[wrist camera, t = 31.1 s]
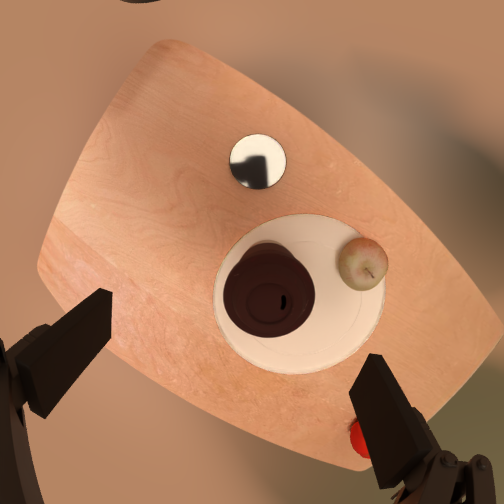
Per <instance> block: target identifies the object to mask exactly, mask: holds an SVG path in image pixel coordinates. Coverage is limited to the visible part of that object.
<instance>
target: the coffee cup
mask: <svg viewBox="0 0 504 504" xmlns="http://www.w3.org/2000/svg"><path fill="white" fill-rule="evenodd" d="M314 302H315V288H314V283H313V280H312V278H311V276H310V274H309V272H308V270H307V269H306V268H305V266H304V265H303V264H302V263H301V262H300V261H298V260H297V259H296V258H295V257H294V256H293V254H292V253H291V252H290V251H289V250H288V249H287V248H286V247H285V246H283V245H282V244H281V243H279V242H277V241H273V240H262V241H259V242H256V243H254V244H253V245H252V246H250V247H249V248H248V250H247V251H246V252H245V253H244V254H243V256H242V257H241V259H240V261H239V262H238V263H237V264H236V265H235V266H234V267H233V268H232V269H231V271H230V273H229V274H228V277H227V279H226V282H225V285H224V289H223V303H224V307H225V310H226V312H227V314H228V316H229V318H230V319H231V321H232V322H233V323H234V324H235V325H236V326H237V327H238V328H239V329H241V330H243V331H244V332H246V333H248V334H250V335H253V336H256V337H261V338H275V337H281V336H284V335H287V334H289V333H291V332H293V331H295V330H296V329H298V328H299V327H300V326H301V325H302V324H303V323H304V322H305V321H306V320H307V319H308V317H309V316H310V314H311V312H312V309H313V306H314Z"/></svg>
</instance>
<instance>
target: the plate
mask: <svg viewBox="0 0 504 504" xmlns="http://www.w3.org/2000/svg"><path fill="white" fill-rule="evenodd" d="M356 238H365V237H363V236H362V235H361V234H360V233H359V232H358V231H356V230H355V229H354V228H352V227H351V226H349V225H347V224H345V223H343V222H341V221H339V220H337V219H334V218H331V217H327V216H323V215H316V214H293V215H287V216H282V217H279V218H275V219H273V220H270V221H267V222H265V223H263V224H261V225H259V226H257V227H256V228H254V229H253V230H251V231H250V232H248V233H247V234H246V235H244V236H243V237H242V238H241V239H240V240H239V241H238V242H237V243H236V244H235V245H234V246H233V247H232V248H231V250H230V251H229V252H228V253H227V255H226V257H225V258H224V260H223V262H222V263H221V265H220V268H219V270H218V272H217V275H216V279H215V283H214V288H213V310H214V315H215V319H216V322H217V325H218V328H219V330H220V332H221V334H222V335H223V337H224V339H225V340H226V342H227V343H228V344H229V345H230V347H231V348H232V349H233V350H234V351H235V352H236V353H237V354H238V355H240V356H241V357H242V358H243V359H245V360H246V361H248V362H250V363H251V364H253V365H255V366H257V367H259V368H262V369H265V370H268V371H271V372H276V373H281V374H307V373H313V372H317V371H321V370H324V369H327V368H330V367H332V366H334V365H336V364H338V363H340V362H342V361H344V360H345V359H347V358H348V357H350V356H351V355H352V354H354V353H355V352H356V351H357V350H358V349H359V348H360V347H361V346H362V345H363V344H364V343H365V342H366V341H367V339H368V338H369V337H370V335H371V334H372V332H373V331H374V329H375V327H376V326H377V324H378V322H379V319H380V317H381V314H382V311H383V307H384V302H385V295H386V283H385V276H384V277H383V279H382V280H381V281H380V283H379V284H378V285H377V286H375V287H374V288H372V289H370V290H367V291H356V290H353V289H351V288H350V287H348V286H347V285H346V284H345V283H344V282H343V280H342V278H341V276H340V273H339V268H338V261H339V256H340V254H341V252H342V250H343V248H344V247H345V245H346V244H347V243H348V242H350V241H351V240H353V239H356ZM262 240H273V241H277V242H279V243H281V244H282V245H283V246H285V247H286V248H287V249H288V250H289V251H290V252H291V253H292V254H293V256H294V257H295V258H296V259H297V260H298V261H300V262H301V263H302V264H303V265H304V266H305V268H306V269H307V270H308V272H309V274H310V276H311V278H312V280H313V283H314V288H315V302H314V306H313V309H312V312H311V314H310V316H309V317H308V319H307V320H306V321H305V322H304V323H303V324H302V325H301V326H300V327H299V328H298V329H296V330H295V331H293V332H291V333H289V334H287V335H284V336H281V337H275V338H261V337H256V336H253V335H250V334H248V333H246V332H244V331H243V330H241V329H239V328H238V327H237V326H236V325H235V324H234V323H233V322H232V321H231V319H230V318H229V316H228V314H227V312H226V310H225V307H224V303H223V289H224V285H225V282H226V279H227V277H228V274H229V273H230V271H231V269H232V268H233V267H234V266H235V265H236V264H237V263H238V262H239V261H240V259H241V257H242V256H243V254H244V253H245V252H246V251H247V250H248V248H249V247H250V246H252V245H253V244H254V243H256V242H259V241H262Z"/></svg>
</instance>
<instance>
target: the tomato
mask: <svg viewBox="0 0 504 504" xmlns="http://www.w3.org/2000/svg"><path fill="white" fill-rule="evenodd" d="M350 440H351V444H352V446H353V449H354V450H355V451H356V452H357V453H358V454H360V455H361V456H362V457H364V458H368V459H370V456H369V452H368V449H367V446H366V443H365V440H364V437H363V434H362V431H361V428H360V425H359V422H356V423H354V425H353V426H352V428H351V433H350Z"/></svg>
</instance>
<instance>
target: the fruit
mask: <svg viewBox="0 0 504 504" xmlns="http://www.w3.org/2000/svg"><path fill="white" fill-rule="evenodd" d="M338 268H339V273H340V276H341V278H342V280H343V282H344V283H345V284H346V285H347V286H348V287H350V288H351V289H353V290H356V291H367V290H370V289H372V288H374V287H375V286H377V285H378V284H379V283H380V281H381V280H382V279H383V277H384V276H385V274H386V272H387V270H388V257H387V255H386V253H385V251H384V250H383V248H382V247H381V246H380V245H379V244H378V243H376V242H375V241H373V240H371V239H368V238H356V239H353V240H351V241H350V242H348V243H347V244H346V245H345V247H344V248H343V250H342V252H341V254H340V256H339V261H338Z"/></svg>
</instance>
